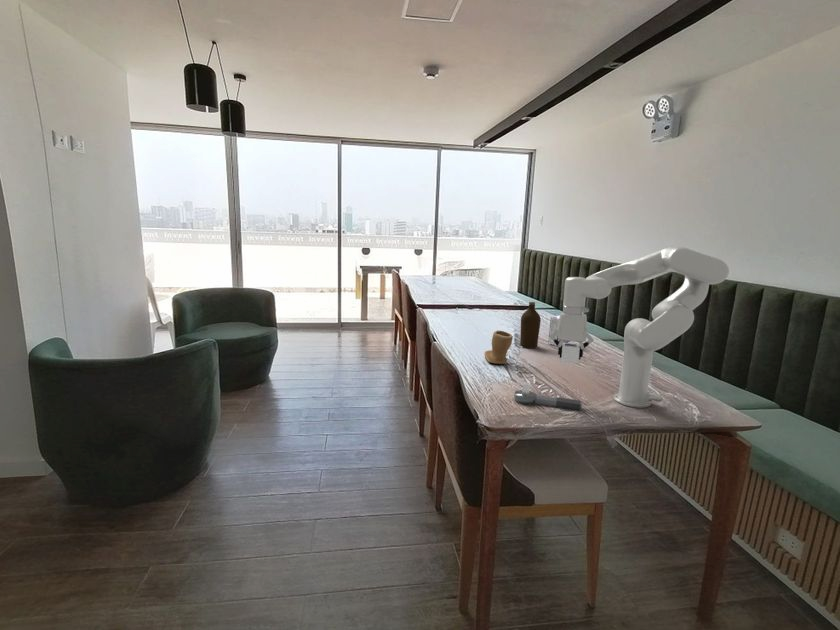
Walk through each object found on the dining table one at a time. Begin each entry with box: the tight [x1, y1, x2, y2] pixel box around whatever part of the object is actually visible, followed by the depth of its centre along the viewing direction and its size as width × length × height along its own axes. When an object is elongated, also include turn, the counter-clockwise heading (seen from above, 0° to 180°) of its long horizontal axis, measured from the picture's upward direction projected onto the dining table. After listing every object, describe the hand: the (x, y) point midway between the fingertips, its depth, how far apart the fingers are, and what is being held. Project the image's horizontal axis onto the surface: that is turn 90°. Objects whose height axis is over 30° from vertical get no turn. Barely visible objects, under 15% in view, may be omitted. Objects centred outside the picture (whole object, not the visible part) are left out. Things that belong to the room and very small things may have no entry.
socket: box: [560, 342, 580, 364], centre depth 158 cm, size 6×6×6 cm
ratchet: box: [513, 382, 583, 411], centre depth 153 cm, size 24×8×6 cm, turn 71°
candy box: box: [547, 314, 571, 347], centre depth 242 cm, size 14×6×16 cm, turn 130°
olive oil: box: [519, 301, 542, 349], centre depth 233 cm, size 11×11×25 cm
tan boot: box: [484, 330, 514, 365], centre depth 204 cm, size 15×12×15 cm
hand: (569, 357), depth 158 cm, fingers closed on socket, 6 cm apart
